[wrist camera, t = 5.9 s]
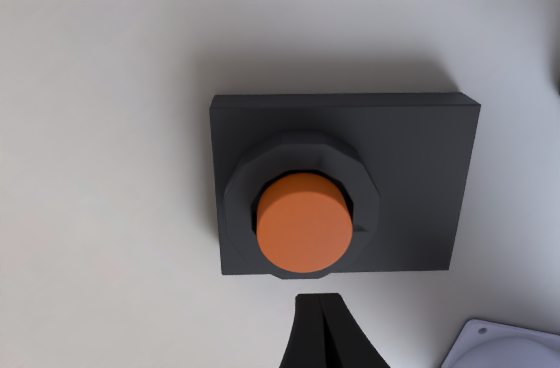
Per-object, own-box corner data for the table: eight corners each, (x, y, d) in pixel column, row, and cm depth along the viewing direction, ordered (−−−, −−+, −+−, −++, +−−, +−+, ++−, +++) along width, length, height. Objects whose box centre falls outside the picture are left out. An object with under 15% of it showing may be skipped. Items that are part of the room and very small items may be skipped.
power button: (348, 171, 19) (356, 190, 18) (343, 248, 21) (349, 272, 19) (256, 172, 19) (255, 192, 18) (258, 250, 21) (257, 274, 19)
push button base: (462, 91, 22) (501, 116, 18) (434, 247, 26) (462, 293, 22) (214, 94, 21) (203, 120, 18) (225, 251, 25) (218, 298, 22)
